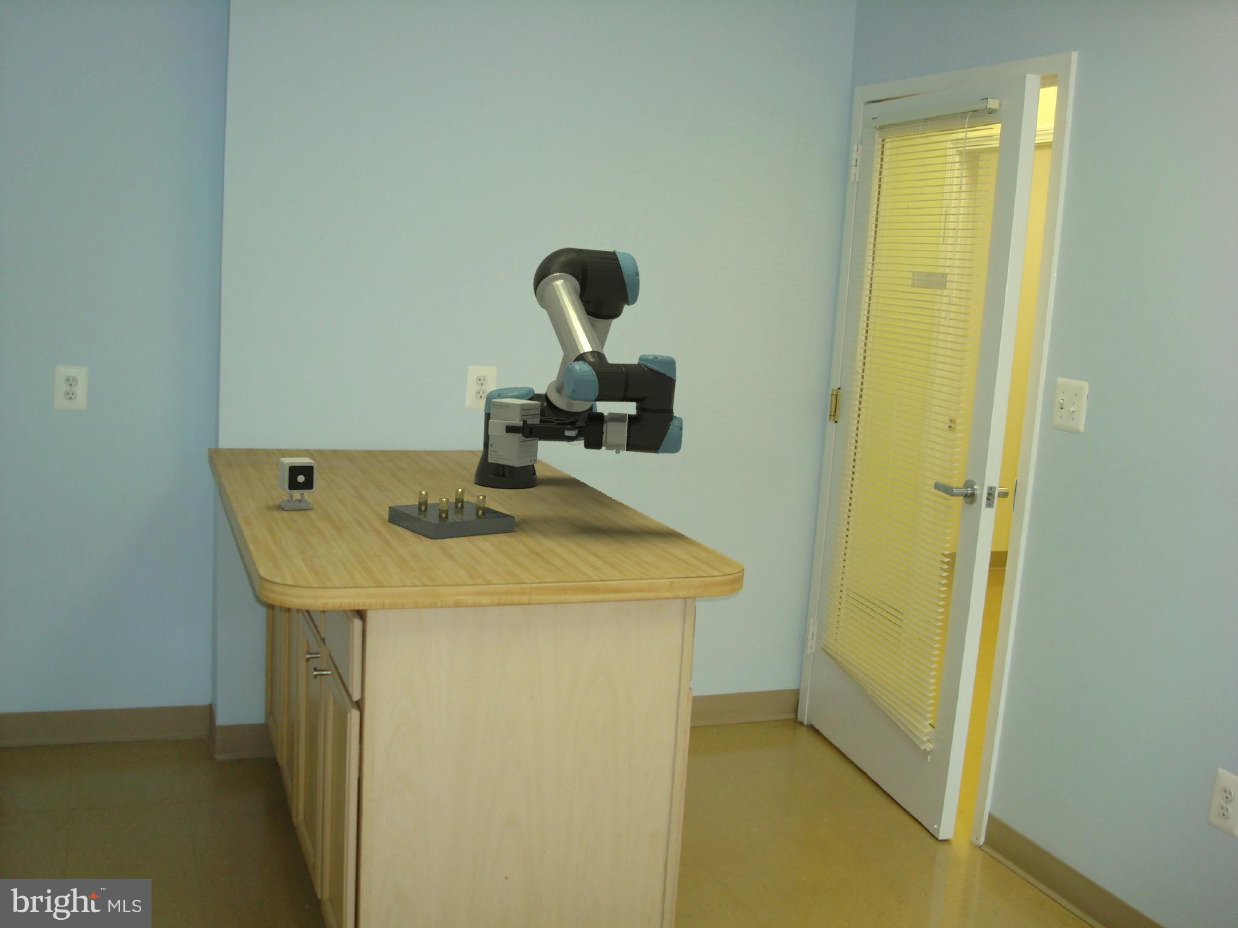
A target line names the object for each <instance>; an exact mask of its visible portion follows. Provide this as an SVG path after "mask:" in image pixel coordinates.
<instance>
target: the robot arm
mask: <svg viewBox="0 0 1238 928" xmlns="http://www.w3.org/2000/svg"><path fill="white" fill-rule="evenodd" d="M640 279H641V278H640V271H639V266H638V263H637V261H636V258H635V257H634V256H633V255H632V253H630V252H624V251H617V250H613V251H611V250H610V251H609V250H600V249H588V248H587V249H586V248H576V247H563V248H559V249H556V250H555V251H553V252H551V253H549V254H547V256H546V257H545V258H543V259H542V261H541V262H540V263H539V264H538V266H537V268H536V270H535V273H534V276H533V281H532V282H533V283H532V286H533V287H532V288H533V294H534V296H535V299H536V302H537V303H538V305H539V307H541V309H543V310H545V312H546V313H547V316H548V318H549V321H550V323H551V325H552V328H553V330H554V332H555V336H556V338H557V341H558V343H559V346H560V347H561V350H562V352H563V355H562V359H561V361H560V364H559V368H558V371H557V376H556V378H555V379H554V380H552V381H551V382H549V384H548V385H547V387H546V390H545V393H543V392H541V393H540V392H539V393H536V392H535V390H534V388H533V387H530V386H520V387H519V386H511V387H504V388H503V387H501V388H498V389H497V388H496V389H493V390H491V391H489V392H487V395H486V396H485V403H484V409H483V413H484V418H483V421H484V423H483V442H482V443H483V446H482V452H481V456H480V459H479V460H478V463H477V467H476V470H475V471H474V483H475V484H477V485H480V486H484V487H489V488H499V489H524V488H532V487H535V486H537V485H538V474H537V471H536V468H535V464H532V465H525V466H518V467H516V466H511V465H506V464H500V463H494V462H488V453H489V434H490V435H507V436H523V437H524V438H527V439H529V438H538V442H558V443H559V442H561V443H566V442H567V443H574V442H582V441H583V448H584V449H586V450H593V451H595V450H596V451H601V450H603V447H604V448H605V450H606V451H615V454H621V452H632V453H633V452H634V453H644V454H645V453H646V454H658V455H659V454H678V453H679V452H680V451H681V450H682V443H683V429H684V427H683V426H684V424H683V423H684V420H683V418H682V417H681V416H677V415H675V412H674V406H675V405H674V404H675V403H674V402H675V392H676V385H677V384H676V383H677V365H676V364H677V362H676V359H675V358H674V357H673V356H670V355H664V354H640V355H639V357H638V360H637V363H615V362H614V363H613V362H609V360H608V358H607V357H606V354H605V352H604V348H605V346H606V342H607V340H608V336H609V332H610V329H611V327H612V323H613V321H614V320H617V319H618V318H621V315H622V314H623V311H624V308H625V306H627V307H630V306H632V305H633V306H634V305H635V304H636V303H637V301H638V299H639V296H640V295H639V294H640V283H641V280H640ZM507 398H512V399H520V400H528V401H535V402H541V405H540V420H539V424H527V420H523V422H511V421H495V420H490V415H491V400H495V399H507ZM598 402H599V403H602V402H603V403H604V402H605V403H635V413H634V414H633V413H626V412H625V413H624V412H610V411H609V412H607V414H605V413H604V412H602V411H598V406H597V403H598Z"/></svg>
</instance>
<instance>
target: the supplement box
mask: <svg viewBox="0 0 1238 928" xmlns="http://www.w3.org/2000/svg"><path fill="white" fill-rule="evenodd" d="M540 405H541V402H535V401H528V400H520V399H512V398H507V399H495V400H491V415H490V420H495V421H511V422H523V420H527V424H539V420H540ZM538 449H539V441H538V438H529V439H527V438H524V437H523V436H507V435H490V434H489V453H488V462H494V463H500V464H506V465H511V466H516V467H518V466H525V465H532V464H534V465H535V464H538V451H539V450H538Z"/></svg>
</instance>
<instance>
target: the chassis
mask: <svg viewBox="0 0 1238 928" xmlns="http://www.w3.org/2000/svg"><path fill="white" fill-rule="evenodd" d="M454 490H455V491H454V501H450V498H448V497H440V498H439V500H438V502H432V503H431V502H430V503H428V502H429V491H427V490H418V499H417V500H418V503H417V504H415V503H413V504H403V505H389V506H388V511H387V512H388V514H387V516H388V518H387V519H388V520H387V521H388V522H389V523H391V524H394V525H396V526H399V527H401V528H404V529H407V530H409V531H412V532H414V533H416V534H418V535H422V536H423V537H426V538H428V539H431V540H439V539H440V540H441V539H449V538H459V537H460V538H463V537H471V536H472V537H474V536H483V535H494V534H504V533H515V529H516V528H515V526H516V516H514V515H512V514H510V513H509V514H508V513H506V512H502V511H500V510H496V509H494V508H491V507H487V506H486V501H487V497H486V496H487V495H483V494H481V495H476V499H475V500H476V502H473V501H470V500H465V488H458V487H457V488H455V489H454Z"/></svg>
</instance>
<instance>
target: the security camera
mask: <svg viewBox="0 0 1238 928" xmlns="http://www.w3.org/2000/svg"><path fill="white" fill-rule="evenodd" d="M317 477H318V464H317V462H316V461H314V460H312V459H311V458H310V457H281V458H280V459H279V461H278V487H279V488H280V489H282V491H284V492H285V493H286V494H288V498H280V499H279V506H280V507H281V508H282V509H284V510H285V511H293V510H295V511H296V510H297V511H298V510H312V509H313V502H311V500H309V499H308V498H306V497H305V494H311V493H312V494H313V493H316V491H317V487H318V486H317V484H318V483H317V482H318V478H317ZM293 494H299V496H300V497H299V498H294V496H293Z"/></svg>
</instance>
